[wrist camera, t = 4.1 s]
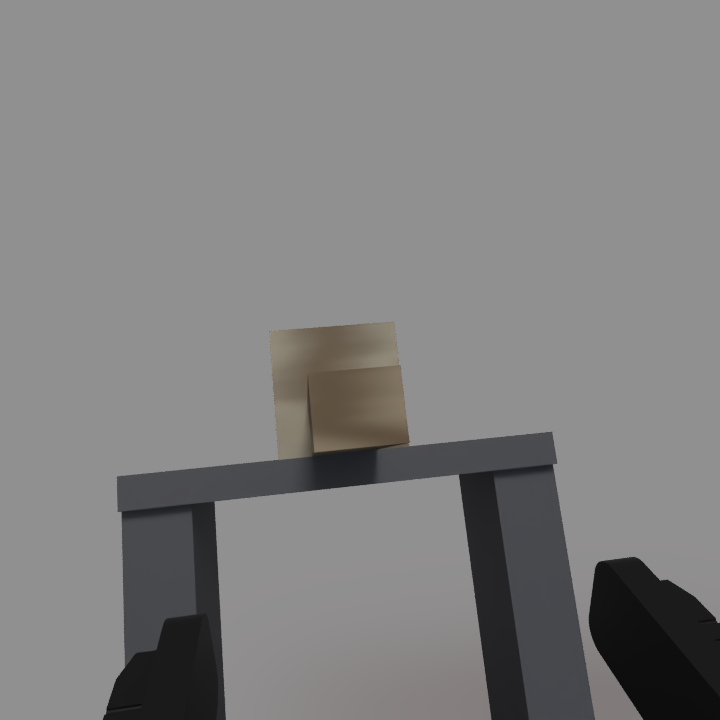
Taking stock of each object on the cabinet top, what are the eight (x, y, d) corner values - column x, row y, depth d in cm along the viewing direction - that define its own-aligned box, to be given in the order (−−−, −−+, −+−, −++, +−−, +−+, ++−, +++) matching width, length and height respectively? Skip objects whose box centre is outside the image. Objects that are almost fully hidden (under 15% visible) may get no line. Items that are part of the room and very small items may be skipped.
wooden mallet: (389, 450, 31) (378, 348, 32) (455, 438, 17) (431, 260, 18) (284, 461, 30) (276, 356, 31) (265, 457, 16) (252, 271, 18)
